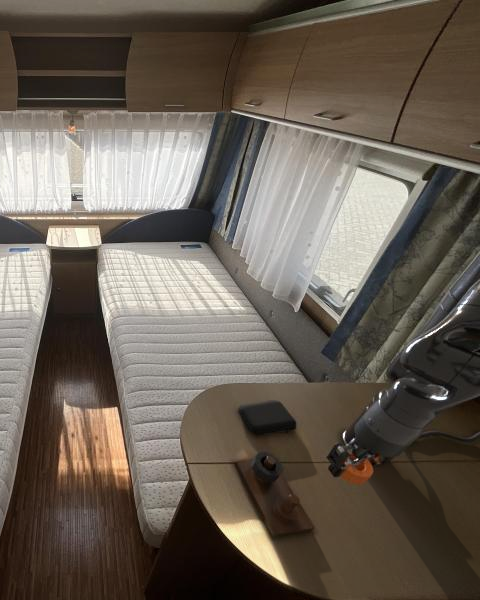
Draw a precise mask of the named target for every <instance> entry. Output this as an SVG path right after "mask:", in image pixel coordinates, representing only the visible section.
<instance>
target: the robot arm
mask: <svg viewBox="0 0 480 600" xmlns="http://www.w3.org/2000/svg"><path fill="white" fill-rule="evenodd" d="M469 340H470V341H474V342H478V343H480V251H478V253H477V254H476V256H475V257H474V258H473V259H472V260H471V262H470V263H469V264H468V265H467V266H466V268H465V269H464V270H463V272H462V273H461V274H460V275H459V277H458V278H457V279H456V280H455V282H454V283H452V285H451V286H450V288H449V289H448V290H447V292H446V293H445V294H444V296H443V297H442V299H441V300H439V302H438V303H437V305H436V307H435V309H434V310H433V312H432V313H431V314H430V316H429V317H428V318H427V320H426V321H425V323H424V324H423V325H422V327H421V328H420V330H419V331H418V332H417V333H416V334H415V336H413V337H412V339H411V340H410V341H409V342H408V343H407V344H406V345H405V346H404V347H402V349H401V351H400V352H399V353H398V354H397V355H396V357H395V358H394V359H393V360H392V361H391V362H390V364H389V365H388V367H387V368H386V372H385V376H386V378H387V379H388V380H389V381H390V382H392V384H391V385H389V387H385V388H382V389H380V390H379V391H378V392H377V393H376V394H375V395H374V397H372V398H371V400H370V401H369V403H368V404H367V405H366V406H365V408H364V409H362V411H361V412H360V413H359V414H358V416H357V417H356V418H355V420H354V421H353V422H352V423H351V424H350V425H349V426H348V428H347V429H346V430H345V431H344V432H343V433H342V435H341V439H342V443H341V442H335V444H334V445H333V446H332V448H331V450H330V452H329V453H328V454H327V456H326V459H327V460H328V462H329V463H330V464H329V465H328V467H327V470H328V471H329V473H330V474H331V475H332V476H333V477H334V478H339V477H340V475H341V474H342V473H343V472H344V471H345V470H346V469H347V468H348V467H352V466H354V465H355V466H357V465H359V464H361V463H362V462H364V461H366V460H368V461H369V462H370V463H371V464H372V467H373V468H374V467H375V466H379V465H381V464H382V462H384V463H390V462H391V460H393V459H394V458H396V457H399V456H400V455H401V454H403V453H404V452H405V451H406V450H407V449H408V448H409V447H410V446H411V445H412V444H414V442H415V441H416V440H417V439H420V438H425V437H428V436H434V435H435V436H442V437H443V436H444V437H448V438H451V439H454V440H458V441H462V442H474V441H476V440H478V439H479V438H480V431H478V432H476V433H475V434H474V435H473V436H470V437H462V436H457V435H454V434H451V433H448V432H443V431H439V430H431V431H425V430H426V429H427V427H428V426H429V425H430V424H431V423H433V422H434V420H436V419H437V418H438V417H439V416H440V415H441V414H443V413H444V412H446V411H447V410H450V409H451V408H453V407H456V406H458V405H461V404H463V403H465V402H468V401H470V400H474V399H476V398H478V397H480V352H478V351H477V352H476V351H474V350H472V349H470V348H467V347H465V346H463V345H461V344H458V343H457V342H462V341H469ZM350 452H351V453H352V454H353V455H354V456H355V457H356V458H357V460H354V458H353V457H352V456H351V455H350V454H349V453H350ZM346 460H348V462H347V463H344V462H345V461H346ZM355 466H354V467H355Z"/></svg>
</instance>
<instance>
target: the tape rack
mask: <svg viewBox="0 0 480 600" xmlns="http://www.w3.org/2000/svg"><path fill="white" fill-rule="evenodd" d="M253 459H254V458H249V459H241V460H236V461H235V463H234V466H235V468H236V470H237V472H238V473H239V476H240V477H241V480H242V482H243V483H244V485H245V488H246V489H247V491H248V493H249V495H250V498H251V499H252V501H253V503H254V505H255V507H256V509H257V511H258V513H259V514H260V517H261V518H262V520H263V522H264V524H265V526H266V528H267V530H268V532H269V534H270V535H271V538H275V537H281V536H286V535H292V534H298V533H299V534H300V533H306V532H309V531H313V530H314V529H315V528H316V527H315V525H314V524H313V522H312V521H311V519H310V518H309V515H308V514H307V512H306V511H305V508H303V506H302V504H301V503H300V502H301V501H300V498H299V496H297V495H296V494H295V493H294V491H293V490H292V488H291V486H290V485H289V483H288V481H287V480H286V478H285V477H284V474H283V472H282V473H281V475H280V476H279V477H278V479H277V480H276V481H275V482H266V481H263V480H261V479H260V478H259V477H258V476H256V474H255V473H254V471H253V470H252V461H253ZM261 464H262V466H263V467H264V468H265V469H267V470H269V471H272V469H271V468H272V467H273V465H274V464H275V459H274V458H273V457H271V456H268V457H267V458H266V459H265V461H264V463H263V462H262V463H261Z"/></svg>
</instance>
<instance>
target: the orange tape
mask: <svg viewBox="0 0 480 600" xmlns="http://www.w3.org/2000/svg"><path fill="white" fill-rule="evenodd" d="M349 454H350V455H351V456H352V457H353V458H354V460H357V458H356V457H355V456H354V455H353V454H352V453H351V452H350V453H349ZM347 462H348V460H346V461H345V462H344V463H347ZM353 466H354V468H353V467H352V466H350V467H348V468H347V469H346V470H345V471H344V472H343V473H342V474H341V475H340V476H339V477H340V478H342V479H343V480H344V481H345V482H348V483H350V484H354V485H363V484H365V483H366V482H367V481H368V480H369V479H370V478H371V477H372V476H373V474H374V467H372V464H371V463H370V462H369V461H368V460H366V461H364V462H362V463H361V464H359V465H357V466H355V465H353Z"/></svg>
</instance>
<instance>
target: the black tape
mask: <svg viewBox="0 0 480 600" xmlns="http://www.w3.org/2000/svg"><path fill="white" fill-rule="evenodd" d="M268 456H271V457H273V458H274V459H275V464H274V465H273V467H272V468H271V469H272V471H269V470H267V469H265V468H264V467H263V466H262V464H261V463H262V462H263V463H264V461H265V459H266V458H267V457H268ZM252 459H253V461H252V470H253V471H254V473H255V474H256V476H258V477H259V478H260V479H261V480H263V481H266V482H275V481H276V480H277V479H278V477H279V476H280V475H281V473H282V474H283V472H284V471H283V465H282V463H281V461H280V459H279V458H278V457H277V456H275V455H274V454H272V453H270V452H267V451H259V452H258V453H256V454H255V455H254V457H253V458H252Z"/></svg>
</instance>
